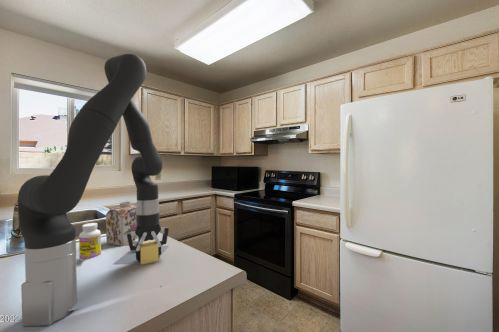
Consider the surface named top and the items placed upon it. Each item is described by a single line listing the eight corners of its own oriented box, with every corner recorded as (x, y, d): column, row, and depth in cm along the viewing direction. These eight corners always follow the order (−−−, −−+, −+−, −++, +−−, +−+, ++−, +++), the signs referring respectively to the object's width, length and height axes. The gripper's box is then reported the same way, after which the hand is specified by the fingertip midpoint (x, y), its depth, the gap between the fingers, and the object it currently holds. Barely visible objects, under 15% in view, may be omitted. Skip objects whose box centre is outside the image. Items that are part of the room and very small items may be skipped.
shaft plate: (153, 266, 78) (153, 251, 78) (113, 267, 78) (112, 252, 77) (169, 248, 94) (169, 236, 94) (135, 249, 94) (135, 236, 93)
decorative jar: (129, 235, 111) (128, 199, 111) (146, 238, 106) (145, 200, 106) (105, 243, 100) (104, 203, 100) (122, 247, 95) (121, 205, 95)
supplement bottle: (76, 263, 81) (75, 227, 81) (84, 255, 88) (83, 222, 87) (97, 260, 83) (96, 226, 83) (103, 253, 89) (103, 221, 89)
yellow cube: (158, 260, 80) (158, 243, 80) (141, 264, 77) (140, 246, 77) (155, 255, 85) (155, 239, 84) (139, 258, 82) (139, 242, 82)
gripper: (166, 207, 87) (167, 250, 88) (124, 212, 80) (125, 259, 80) (171, 211, 81) (171, 257, 81) (125, 216, 73) (126, 267, 74)
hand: (148, 258), depth 81 cm, fingers closed on yellow cube, 5 cm apart
